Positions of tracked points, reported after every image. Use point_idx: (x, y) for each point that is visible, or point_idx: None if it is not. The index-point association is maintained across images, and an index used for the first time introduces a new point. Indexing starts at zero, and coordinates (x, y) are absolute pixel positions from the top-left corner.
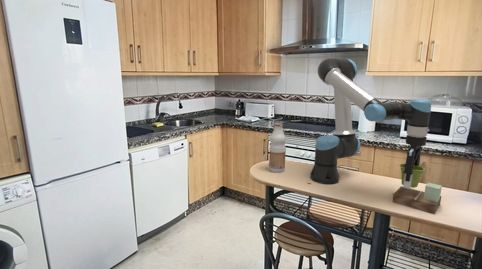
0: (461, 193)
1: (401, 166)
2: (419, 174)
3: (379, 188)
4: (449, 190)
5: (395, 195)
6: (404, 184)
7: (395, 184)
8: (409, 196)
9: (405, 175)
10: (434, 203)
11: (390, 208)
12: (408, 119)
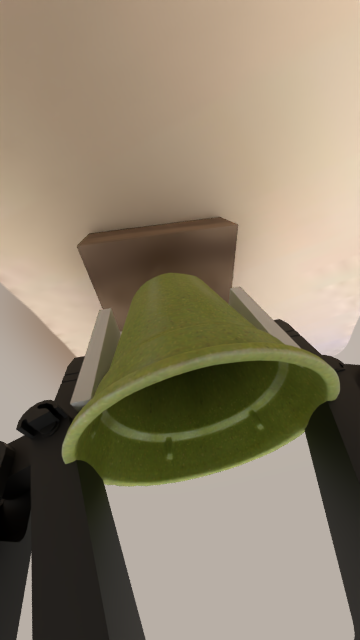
0: (333, 338)
1: (211, 345)
2: (165, 432)
3: (228, 46)
4: (347, 315)
5: (84, 256)
6: (96, 326)
7: (357, 127)
8: (124, 310)
9: (79, 384)
10: None
11: (11, 260)
12: None
